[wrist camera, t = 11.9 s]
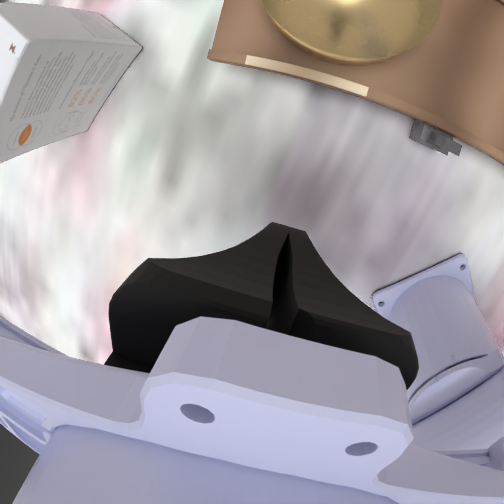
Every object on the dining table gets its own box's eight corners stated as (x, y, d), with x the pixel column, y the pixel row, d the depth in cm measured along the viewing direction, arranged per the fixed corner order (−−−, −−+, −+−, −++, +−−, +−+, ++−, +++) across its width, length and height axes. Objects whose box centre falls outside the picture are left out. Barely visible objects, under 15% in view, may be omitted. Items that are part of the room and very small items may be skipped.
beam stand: (472, -9, 11) (503, -24, 7) (435, 149, 17) (464, 165, 13) (446, -23, 11) (474, -43, 7) (409, 137, 17) (433, 150, 13)
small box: (100, 12, 16) (-12, -3, 7) (146, 48, 17) (29, 37, 8) (49, 94, 19) (-56, 120, 10) (87, 133, 21) (-22, 175, 11)
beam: (599, 95, 8) (612, 98, 7) (568, 210, 13) (581, 220, 12) (256, -78, 10) (250, -91, 8) (216, 61, 15) (206, 58, 13)
